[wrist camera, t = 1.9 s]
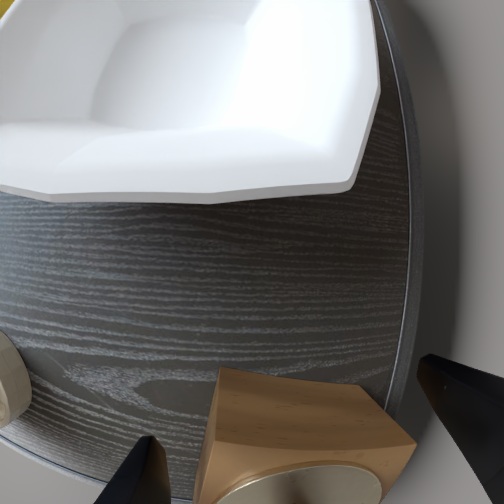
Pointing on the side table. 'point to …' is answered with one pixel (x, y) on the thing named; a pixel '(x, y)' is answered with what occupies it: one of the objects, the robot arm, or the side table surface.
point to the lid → (307, 485)
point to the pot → (12, 383)
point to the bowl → (185, 99)
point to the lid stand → (293, 430)
